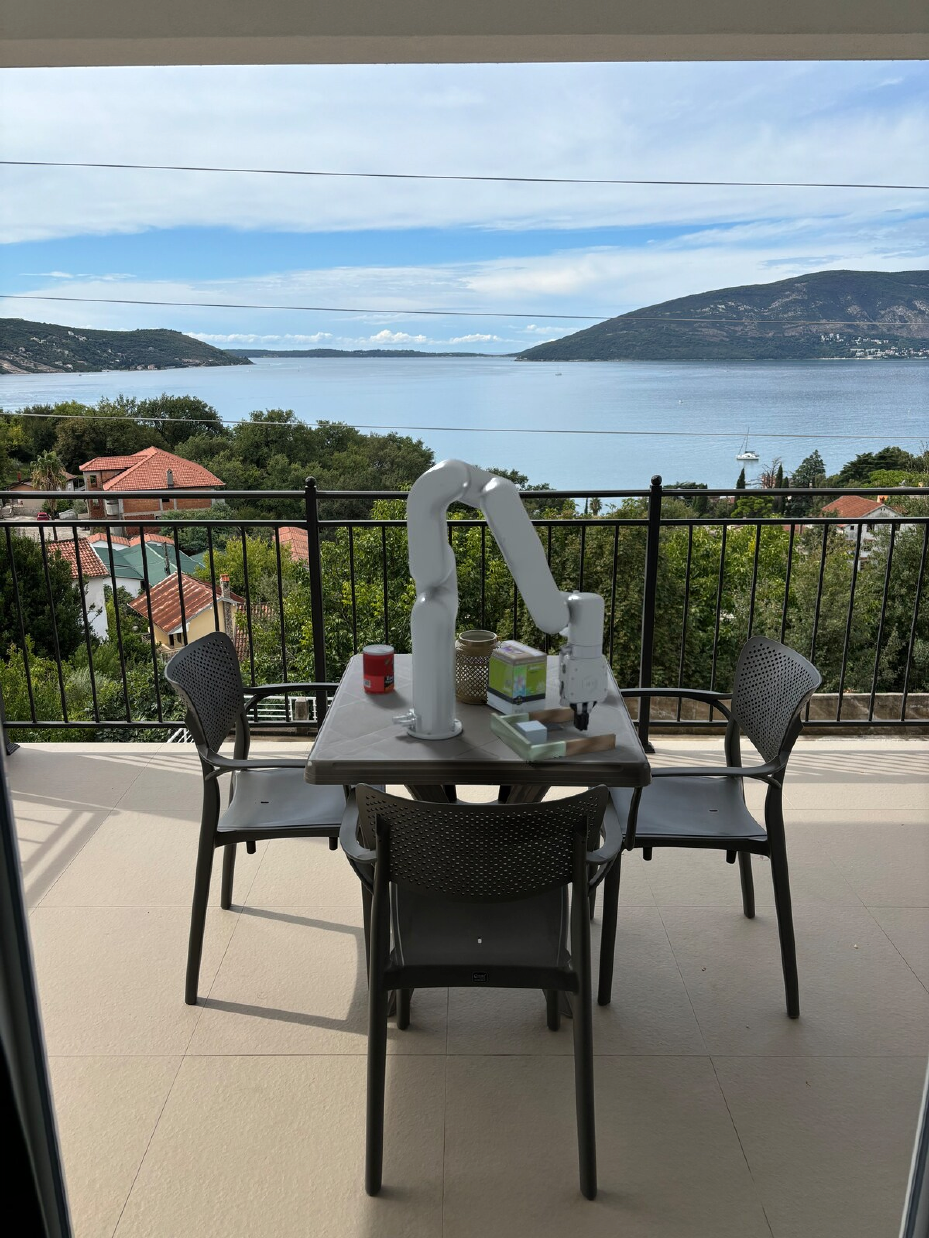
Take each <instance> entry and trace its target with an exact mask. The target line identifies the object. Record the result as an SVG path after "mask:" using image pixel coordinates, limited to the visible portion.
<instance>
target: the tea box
mask: <svg viewBox="0 0 929 1238" xmlns="http://www.w3.org/2000/svg"><path fill="white" fill-rule="evenodd" d="M499 642H500V643H501V642H502V643H501V648H500V646H498V647H499V648H498V649H497V648H496V649H493V652H492V654H491V657H490V660H489V665H488V680H487V697H488V698H487V700H488V701H487V703H486V704H487V705H488V706H490V707H492V708H494V709H495V710H498V711H499V712H501V713H503V714H504V715H513V714H520V713H527V712H535V711H542V710H546V699H547V698H546V696H547V695H546V694H547V675H548V674H547V672H548V671H547V668H548V653H545V652H543V651H541V650H539V649H536V648H534V647H531V646H528V645H527V644H524V643H522V642H519V641H516V640H515V639H512V640H510V639H509V640H504V641H499Z"/></svg>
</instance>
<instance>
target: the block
mask: <svg viewBox="0 0 929 1238" xmlns="http://www.w3.org/2000/svg"><path fill="white" fill-rule="evenodd" d="M515 730H516V731H517V732H519V733H520V734H521V735H522V736H523V737H525V738H526V739H527V740H528V741H529V742H531V743H532V746H534V745H540V744H547V741H548V740H547V737H548V736H547V735H548V732H547V728H546V727H545V726H543V725H542V724H541V723H539V722H538V721H530V722H523V723H516V728H515Z"/></svg>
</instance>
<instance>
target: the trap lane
mask: <svg viewBox="0 0 929 1238" xmlns="http://www.w3.org/2000/svg"><path fill="white" fill-rule="evenodd" d="M530 721H538V722H539V723H541V724H542V723H549V722H555V723H556V724H557V723H562V722H563V723H564V722H569V721H574V711H573V710H572V709H571V708H570V707H559V708H550V709H545V710H542V711H535V712H527V713H520V714H513V715H506V714H504V715H498V713H496V712H492V713H490V731H491V730H492V731H493V733H494V734H495V736H496V737H498V736H499V737H500V738H501V739H502V740H501V739H500V738H499V737H498V738H499V739H500V740H501V741H502V742H504V743H505V744H506V743H507V744H508V745H507V744H506V745H507V746H508V747H509V746H510V747H511V748H512V749H511V748H510V747H509V748H510V749H511V750H513V751H514V753H516V754H517V753H518V754H519V755H518V754H517V755H518V756H521V757H520V758H521V759H523V761H525V760H526V761H527V762H526V761H525V762H526V763H529V761H531V762H535V761H534V760H537V761H543V760H549V758H550V759H555V758H554V757H556V758H560V757H559V756H562V757H567V756H575V755H581V754H587V753H588V754H589V753H592V752H599V751H605V750H612V749H616V740H617V739H616V738H617V736H616V735H617V734H615V733H614V732H613V733H608V734H601V735H594V736H589V737H581V738H576V739H575V738H574V739H568V740H567V739H566V740H562V741H554V742H548V743H547V744H540V745H534V746H532V743H531V742H529V741H528V740H527V739H526V738H525V737H523V736H522V735H521V734H520V733H519V732H517V731H516V723H523V722H530ZM492 731H491V732H492Z"/></svg>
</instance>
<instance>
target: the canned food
mask: <svg viewBox="0 0 929 1238" xmlns="http://www.w3.org/2000/svg"><path fill="white" fill-rule="evenodd" d="M362 670H363V672H362V673H363V674H362V677H363V678H362V679H363V690H364V691H365V692H366V693H368V694H372V695H383V694H384V695H385V694H389V693H392V692H393V691H394V690H395V648H394V647H393V646H391V645H387V644H371V645H367V646H364V647H363V648H362Z"/></svg>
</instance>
